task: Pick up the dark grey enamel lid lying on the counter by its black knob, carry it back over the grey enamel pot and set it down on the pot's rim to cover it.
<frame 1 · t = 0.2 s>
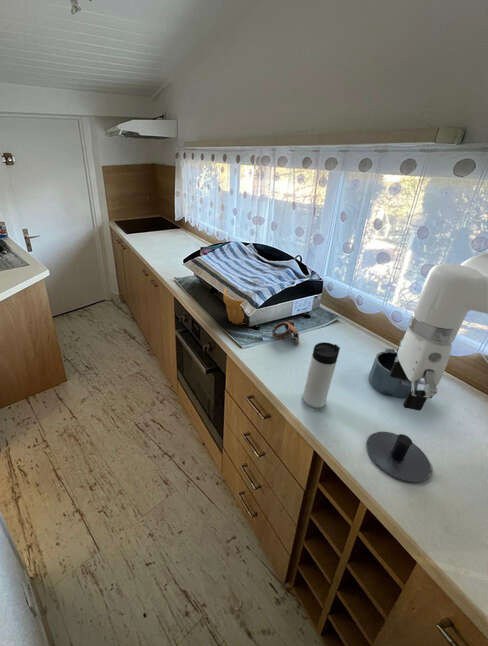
hand: (403, 391, 68), 20 cm above the worktop, tool pointing down, fingers open, 9 cm apart
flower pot: (238, 319, 134), on the worktop
travel mug: (313, 402, 91), on the worktop
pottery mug: (286, 339, 120), on the worktop
lid: (396, 456, 75), point 1 cm above the worktop
pot: (390, 384, 97), on the worktop
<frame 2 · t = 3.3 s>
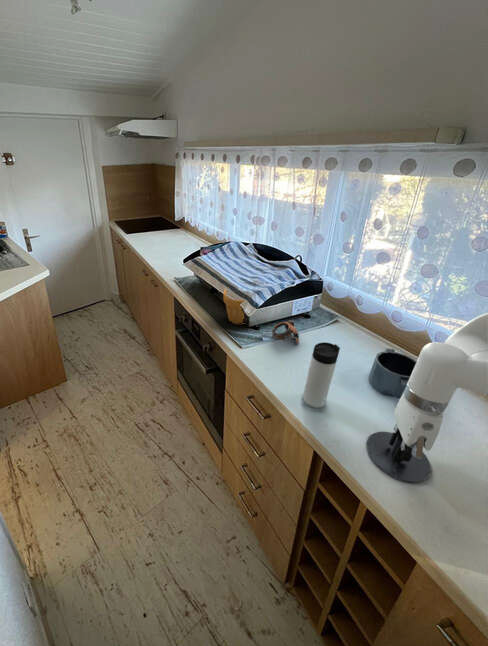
hand: (398, 451, 74), 2 cm above the worktop, tool pointing down, fingers closed on lid, 3 cm apart
lid: (396, 456, 75), point 1 cm above the worktop, touching gripper
everything else where it was.
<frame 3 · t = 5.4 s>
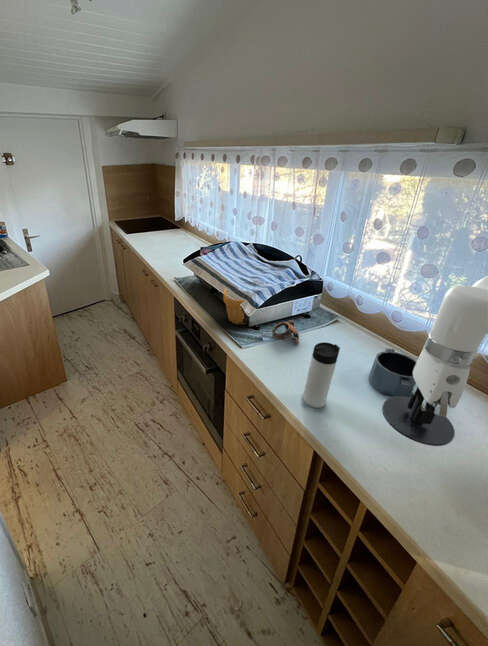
hand: (418, 414, 68), 15 cm above the worktop, tool pointing down, fingers closed on lid, 3 cm apart
lid: (416, 419, 69), point 13 cm above the worktop, touching gripper
everything else where it was.
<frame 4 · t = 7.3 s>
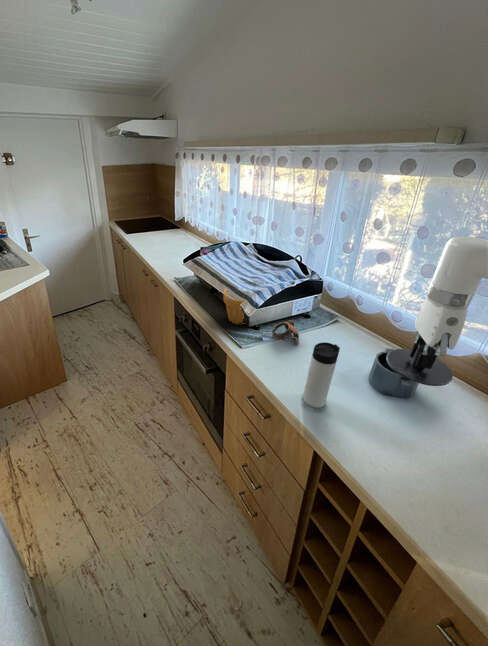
hand: (420, 361, 74), 21 cm above the worktop, tool pointing down, fingers closed on lid, 3 cm apart
lid: (417, 367, 75), point 19 cm above the worktop, touching gripper
everything else where it was.
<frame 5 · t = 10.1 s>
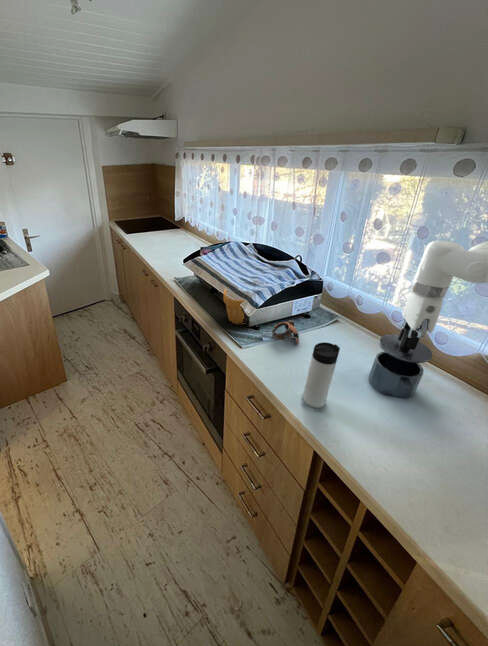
hand: (406, 344, 90), 16 cm above the worktop, tool pointing down, fingers closed on lid, 3 cm apart
lid: (404, 348, 91), point 14 cm above the worktop, touching gripper
everything else where it was.
when the fingers open (10 cm above the worktop, at t = 11.7 s): lid stays where it is, resting on pot.
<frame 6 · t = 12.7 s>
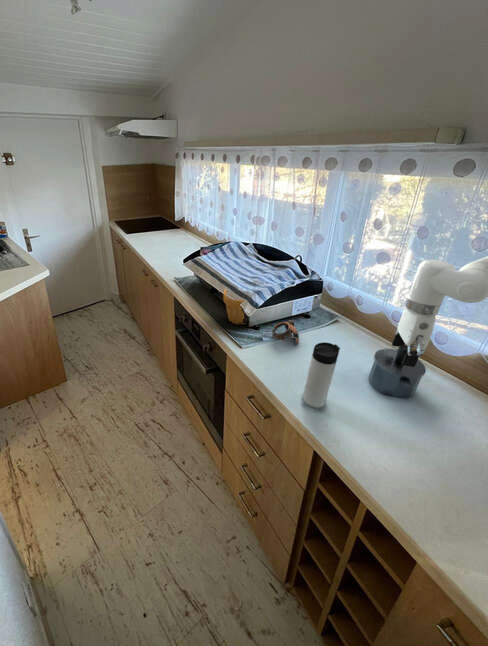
hand: (402, 355, 92), 12 cm above the worktop, tool pointing down, fingers open, 9 cm apart
lid: (398, 363, 93), point 8 cm above the worktop, touching pot
everything else where it was.
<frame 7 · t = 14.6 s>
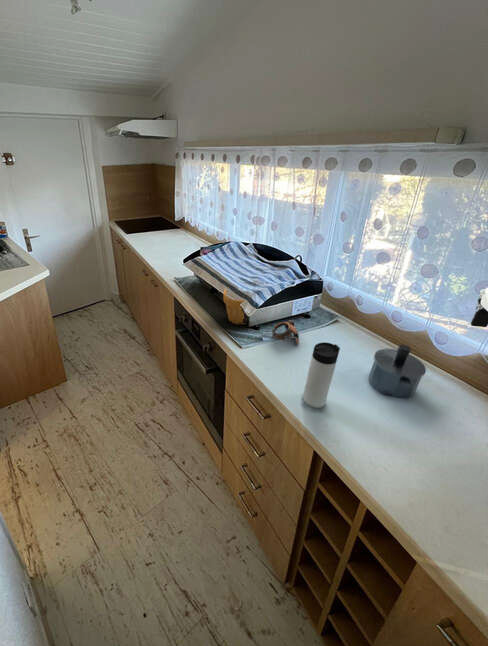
nothing on the worktop moved.
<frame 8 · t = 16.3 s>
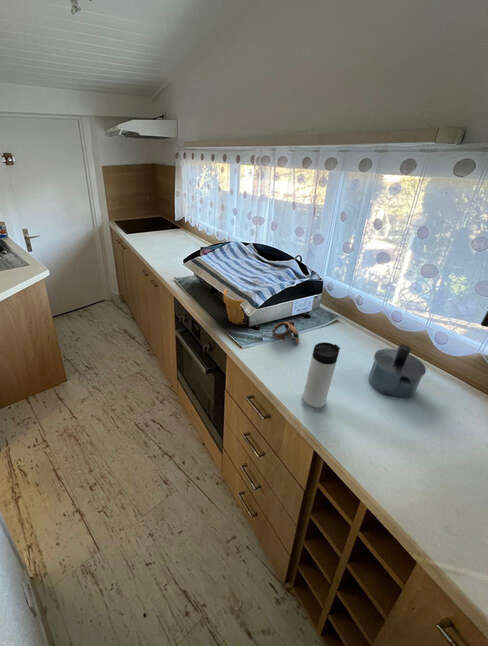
nothing on the worktop moved.
at the end: lid 0.1 cm off-centre on the pot, point 8.5 cm above the pot's base; lid tilted 0° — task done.
